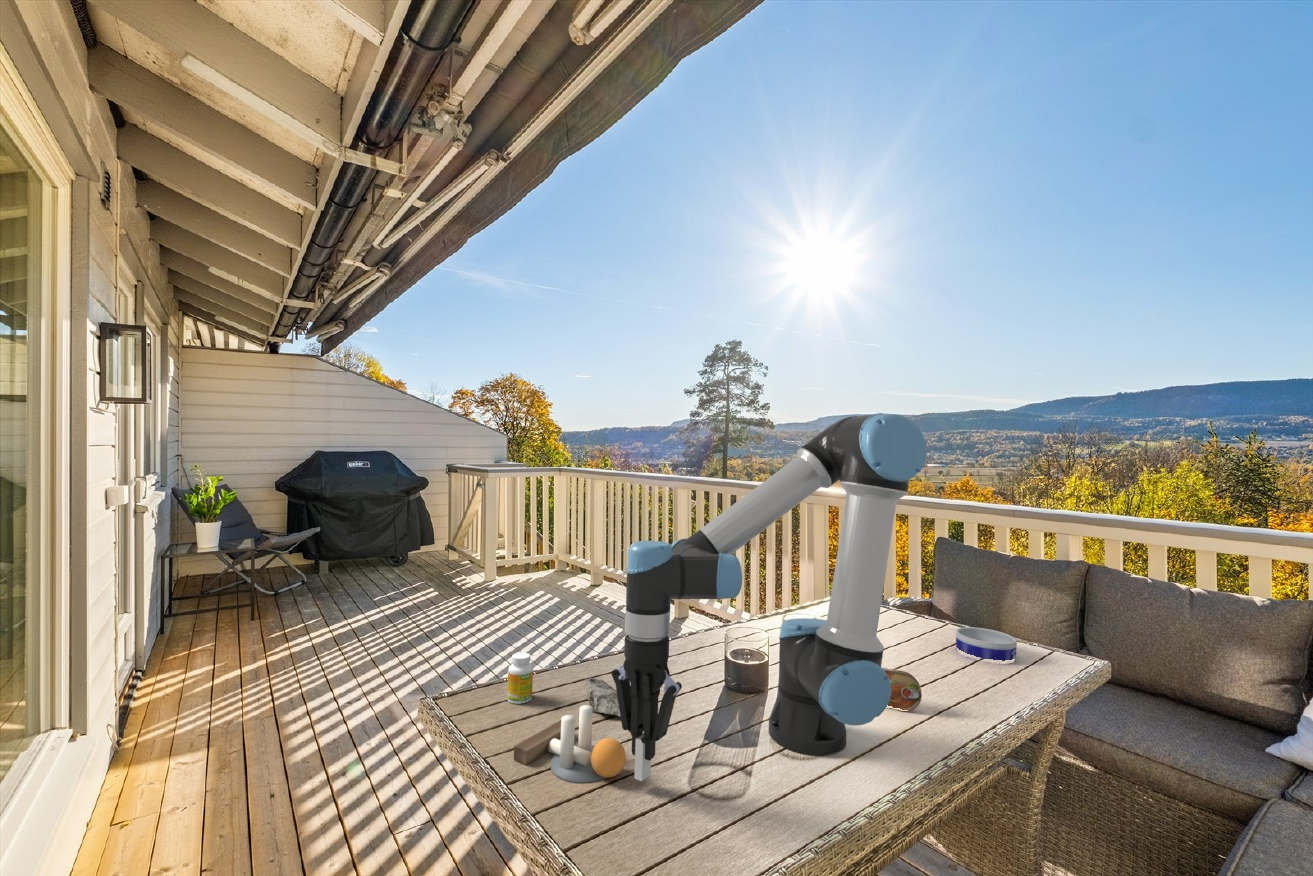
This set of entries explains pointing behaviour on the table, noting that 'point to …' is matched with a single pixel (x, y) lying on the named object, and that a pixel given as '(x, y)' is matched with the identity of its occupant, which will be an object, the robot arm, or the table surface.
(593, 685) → the mineral rock
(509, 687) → the supplement bottle
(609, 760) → the ball
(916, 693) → the tin
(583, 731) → the pin
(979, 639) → the dog bowl
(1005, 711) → the table surface
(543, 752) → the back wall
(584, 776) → the pin disc
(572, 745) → the pin
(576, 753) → the front pin
